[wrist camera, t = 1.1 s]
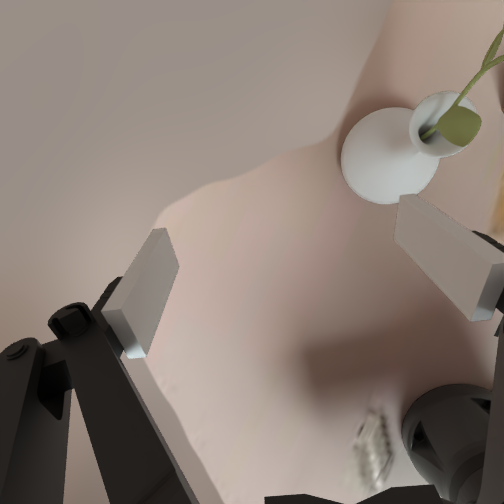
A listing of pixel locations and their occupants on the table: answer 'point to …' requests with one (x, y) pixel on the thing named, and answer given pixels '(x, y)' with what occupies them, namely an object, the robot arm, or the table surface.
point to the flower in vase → (410, 141)
